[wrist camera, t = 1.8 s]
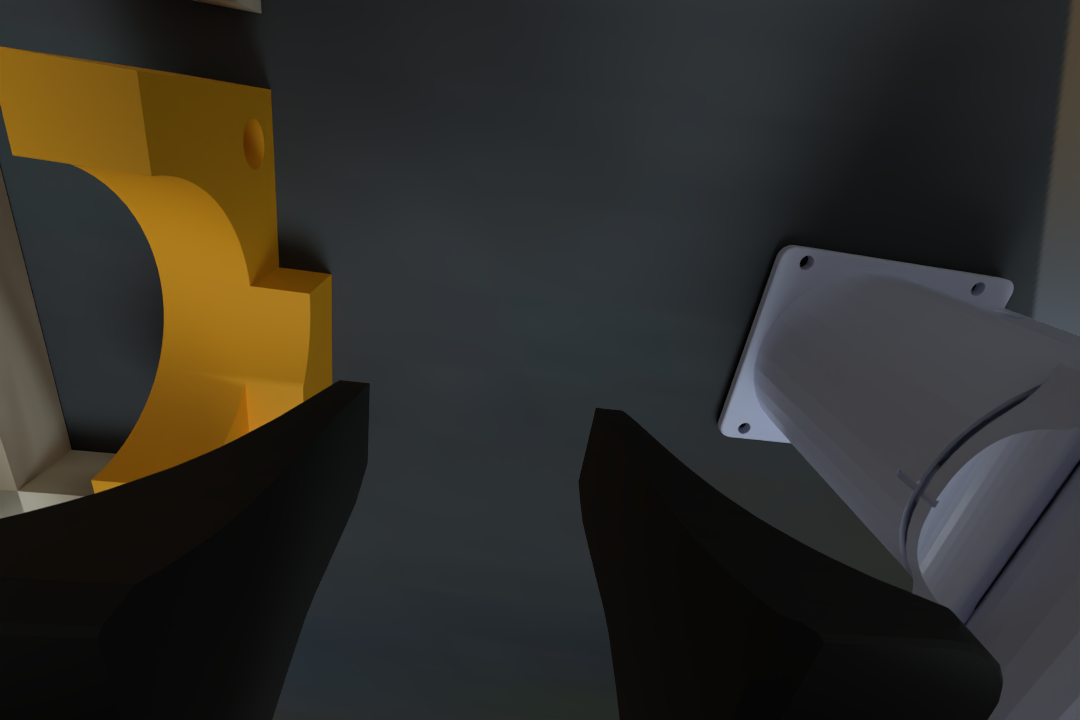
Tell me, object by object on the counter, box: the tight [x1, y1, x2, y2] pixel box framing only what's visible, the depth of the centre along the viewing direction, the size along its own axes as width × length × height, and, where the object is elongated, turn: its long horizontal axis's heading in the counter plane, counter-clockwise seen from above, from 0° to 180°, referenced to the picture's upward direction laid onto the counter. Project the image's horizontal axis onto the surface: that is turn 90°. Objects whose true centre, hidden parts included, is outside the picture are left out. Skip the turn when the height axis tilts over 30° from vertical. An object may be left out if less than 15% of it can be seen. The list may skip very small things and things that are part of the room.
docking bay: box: [0, 0, 262, 518], centre depth 16 cm, size 10×20×2 cm, turn 171°
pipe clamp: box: [0, 47, 332, 493], centre depth 15 cm, size 12×4×6 cm, turn 171°
